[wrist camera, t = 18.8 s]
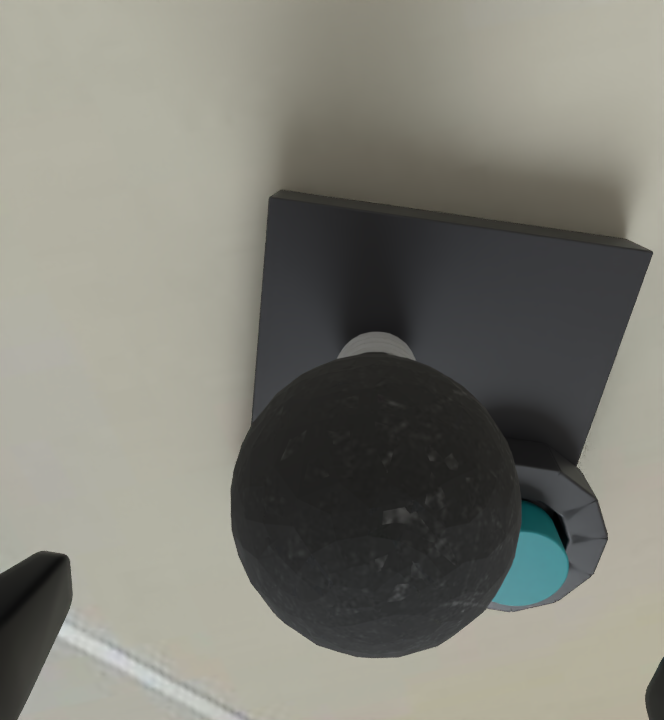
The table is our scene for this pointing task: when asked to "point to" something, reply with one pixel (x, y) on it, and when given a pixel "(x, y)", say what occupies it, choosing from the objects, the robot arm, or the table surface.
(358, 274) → the button base
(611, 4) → the table surface
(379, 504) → the light bulb
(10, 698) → the robot arm
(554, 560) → the button
